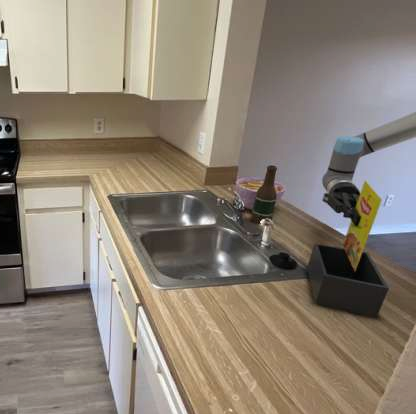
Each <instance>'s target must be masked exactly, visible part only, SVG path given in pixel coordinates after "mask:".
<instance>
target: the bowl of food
mask: <svg viewBox="0 0 416 414" xmlns="http://www.w3.org/2000/svg"><path fill="white" fill-rule="evenodd" d="M264 179H265V178H261V177H244V178H239V179H237V180H236V182H235V188H236V194H237V193H238V194H239V196H240V197H241V199H242V201H243V203H244V205H245V207H244V209H247V210H250V211H253V206H254V201H255V196H256V193H257V190H258V189H259V187H261V186H262V185H263V182H264ZM274 188H275V190H276V194H277V197H276V203H275V207H274V209H275V208H276V207H277V206H278V204H279V203H280V201H281V200H282V197H283V196H284V193H285V192H286V190H287V189H286V186H285V185H284V184H282V183H280V182H279V181H276V180H275V181H274Z"/></svg>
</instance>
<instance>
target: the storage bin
mask: <svg viewBox="0 0 416 414" xmlns="http://www.w3.org/2000/svg"><path fill="white" fill-rule="evenodd" d="M306 271H307V275H308V278H309V284H310V288H311V291H312V296H313V300H314V304H315V305H318V306H324V307H327V308H332V309H336V310H340V311H346V312H349V313H353V314H354V313H355V314H358V315H363V316H365V317H366V316H367V317H371V318H374V319H375V318H376V319H377V318H378V316H379V313H380V311H381V309H382V306H383V304H384V302H385V299H386V296H387V294H388V292H389V289H390V287H389V286H388V284H387V281H386V280H385V279H384V277H383V276H382V273H381V272H380V270H379V269H378V267H377V265H376V264H375V262H374V260H373V258H372V256H371V255H370V253H369V252H367V251H363V252H362V255H361V257H360V260H359V263H358V265H357V268H356V270H355V271H354V268H353V267H352V265H351V262H350V260H349V258H348V256H347V253H346V251H345V248H344V247H340V246H333V245H327V244H322V243H316V242H315V243H313V247H312V249H311V253H310V257H309V260H308V264H307V267H306Z"/></svg>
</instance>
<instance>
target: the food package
mask: <svg viewBox="0 0 416 414" xmlns="http://www.w3.org/2000/svg"><path fill="white" fill-rule="evenodd" d="M381 203H382V198H381V197H380V196H379V195H378V193H377V192H376V191H375V190H374V189H373V187H372V186H370V184H369V183H368V182H367V181H366V180H364V181H363V185H362V187H361V190H360V196H359V199H358V202H357V205H356V210H357V211H358V213H359V214H360V216H361V219H360V222H359V225H358V226H354V224H353V222H352V221H351V220H350V222H349V225H348V229H347V232H346V235H345V237H344V240H343V243H342V245H343V248H345V251H346V253H347V256H348V258H349V260H350V262H351V265H352V267H353V268H354V271H355V270H356V268H357V265H358V263H359V260H360V257H361V255H362V252H364V250H365V246H366V244H367V241H368V238H369V236H370V233H371V230H372V228H373V225H374V223H375V220H376V217H377V214H378V212H379V209H380V205H381Z"/></svg>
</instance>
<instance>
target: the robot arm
mask: <svg viewBox="0 0 416 414" xmlns="http://www.w3.org/2000/svg"><path fill="white" fill-rule="evenodd" d="M415 138H416V111H415V112H411V113H410V114H407V115H405V116H402V117H400V118H397V119H395V120H392V121H390V122H387V123H385V124H382V125H379V126H377V127H374V128H372V129H370V130H367V131H366V132H363V133H360V134H357V135H354V136H349V135H346V136H345V135H343V136H339V137H337V138H336V139H335V143H334V145H333V147H332V153H331V157H330V160H329V164H328V167H327V170H326V172H324V174H323V176H322V177H321V181H322V186H323V189H325V191H326V192H325V193H323V198H322V202H323V203H325V204H327V205H328V206H329V207H330V209H332V210H333V211H334V212H335V213H336V214H341V213H342V217H343V218H345V219H350V222H351V221H352V222H353V224H354V226H358V225H359V222H360V219H361V216H360V214H359V213H358V211H357V210H356V205H357V202H358V199H359V196H360V193H361V190H360V189H359V188H358V187H357V186H356V184H355V183H354V182H353V179H354V175H355V172H356V168H357V166H358V164H359V160H360V158H362V157H365V156H367V155H370V154H374V153H376V152H379V151H381V150H384V149H386V148H387V149H388V148H390V147H392V146H395V145H397V144H400V143H403V142H406V141H409V140H412V139H415Z"/></svg>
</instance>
